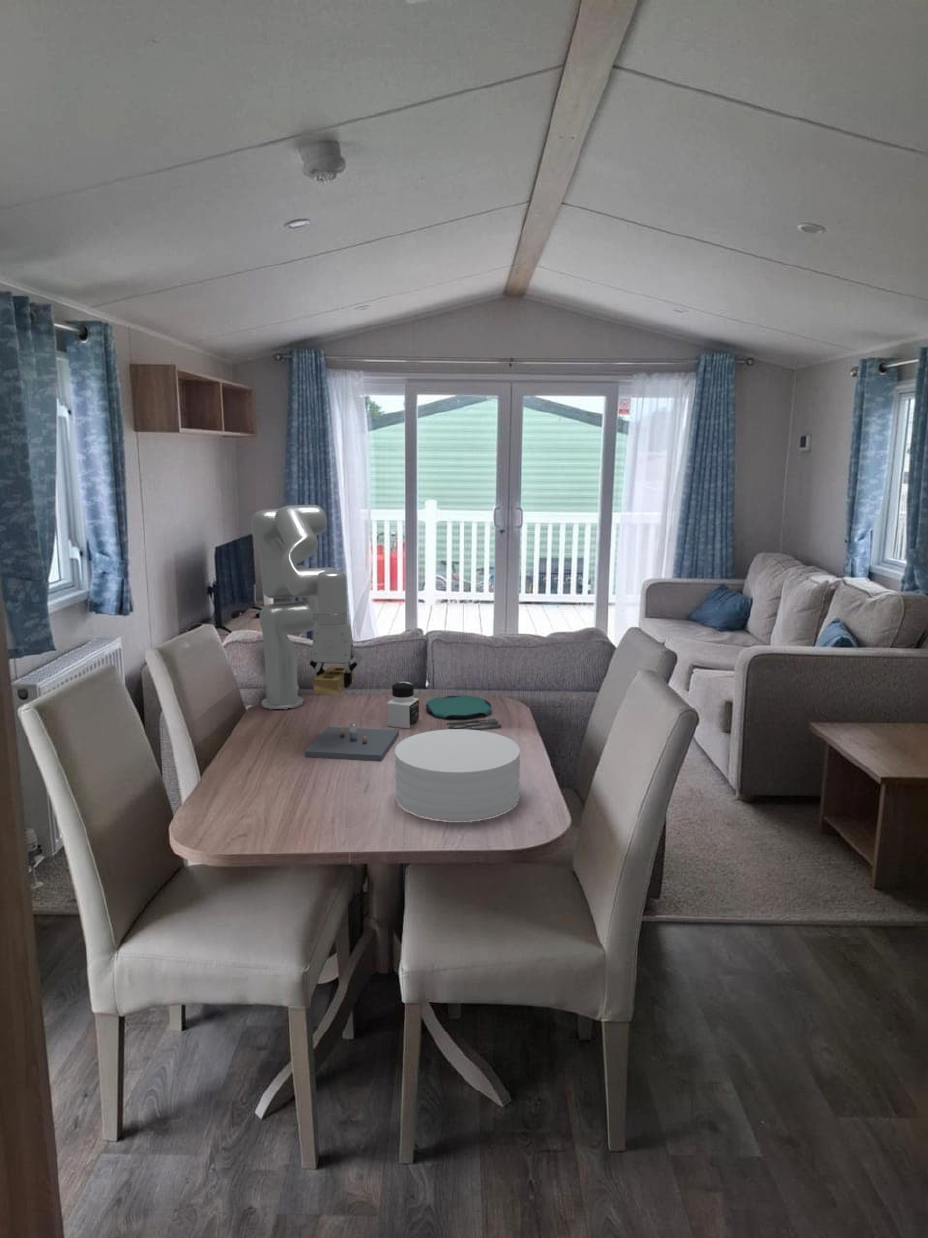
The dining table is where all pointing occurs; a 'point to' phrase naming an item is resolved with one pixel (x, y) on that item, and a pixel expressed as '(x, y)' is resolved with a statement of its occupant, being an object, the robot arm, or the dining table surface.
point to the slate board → (352, 744)
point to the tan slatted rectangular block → (330, 681)
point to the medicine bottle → (402, 706)
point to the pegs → (353, 733)
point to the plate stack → (457, 774)
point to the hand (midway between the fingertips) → (334, 685)
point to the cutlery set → (461, 710)
